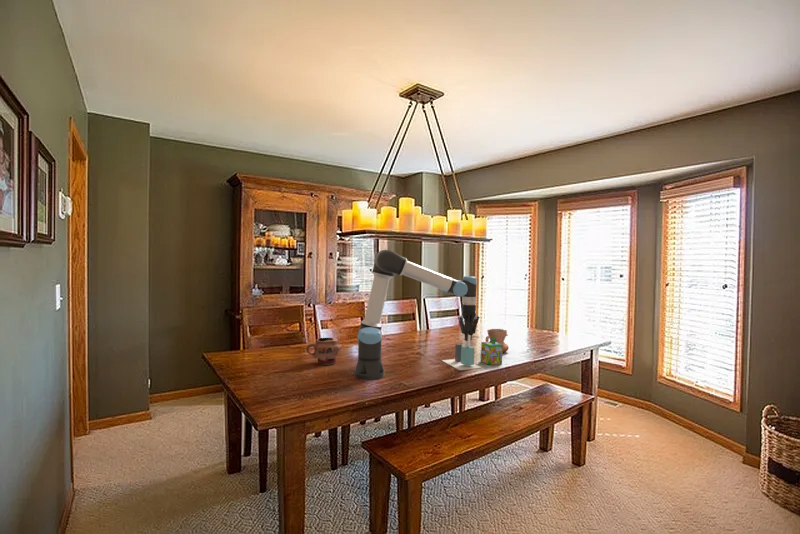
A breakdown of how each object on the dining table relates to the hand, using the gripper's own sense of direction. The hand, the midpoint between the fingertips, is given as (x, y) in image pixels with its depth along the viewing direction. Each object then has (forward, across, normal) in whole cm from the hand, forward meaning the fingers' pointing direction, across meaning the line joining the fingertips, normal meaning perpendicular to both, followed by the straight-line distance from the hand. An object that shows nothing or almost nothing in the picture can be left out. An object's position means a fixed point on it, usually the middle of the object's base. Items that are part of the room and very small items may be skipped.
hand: (467, 346), depth 229 cm
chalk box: (+12, +18, +3) cm, 22 cm away
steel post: (+11, 0, 0) cm, 11 cm away
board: (+11, -1, +5) cm, 12 cm away
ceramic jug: (+12, +37, +25) cm, 46 cm away
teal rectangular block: (+10, 0, 0) cm, 10 cm away
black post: (+11, 0, +10) cm, 15 cm away
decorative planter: (+12, -74, +30) cm, 81 cm away
